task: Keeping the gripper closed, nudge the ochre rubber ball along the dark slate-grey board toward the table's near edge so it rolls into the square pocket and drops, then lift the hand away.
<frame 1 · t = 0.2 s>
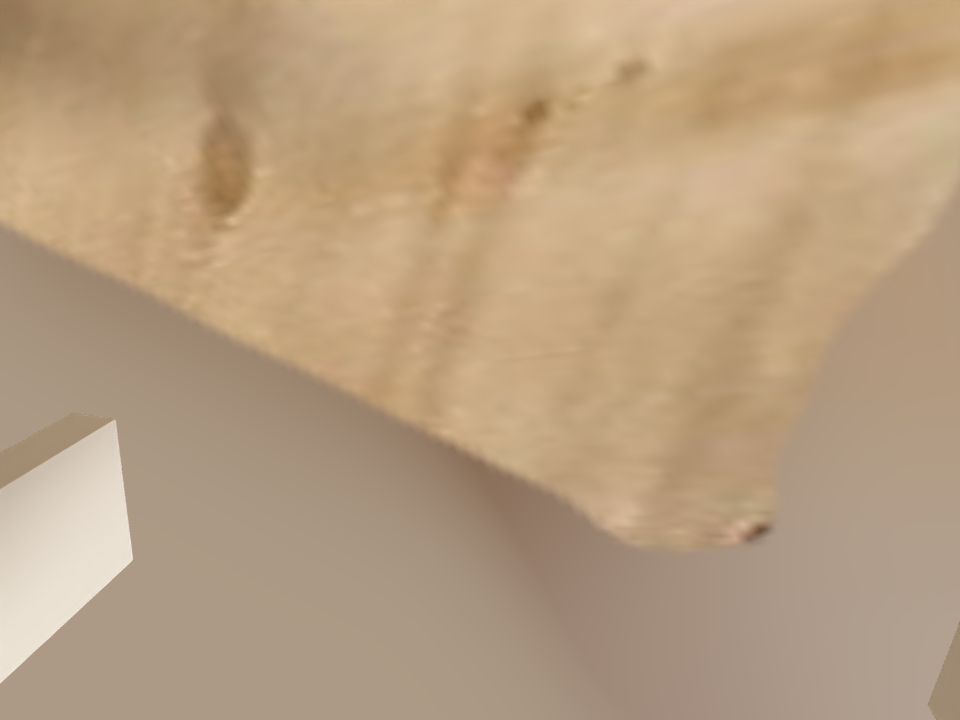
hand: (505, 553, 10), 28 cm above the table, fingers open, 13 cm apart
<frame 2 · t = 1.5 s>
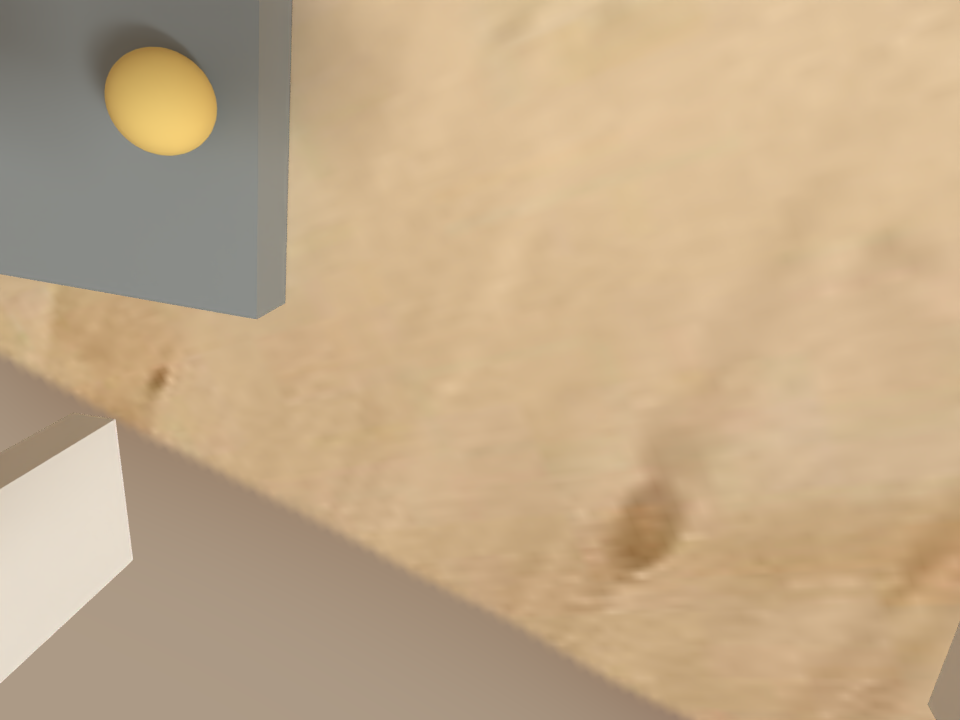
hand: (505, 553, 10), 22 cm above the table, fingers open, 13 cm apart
ball: (191, 103, 29), point 3 cm above the table, touching board
board: (70, 83, 32), on the table
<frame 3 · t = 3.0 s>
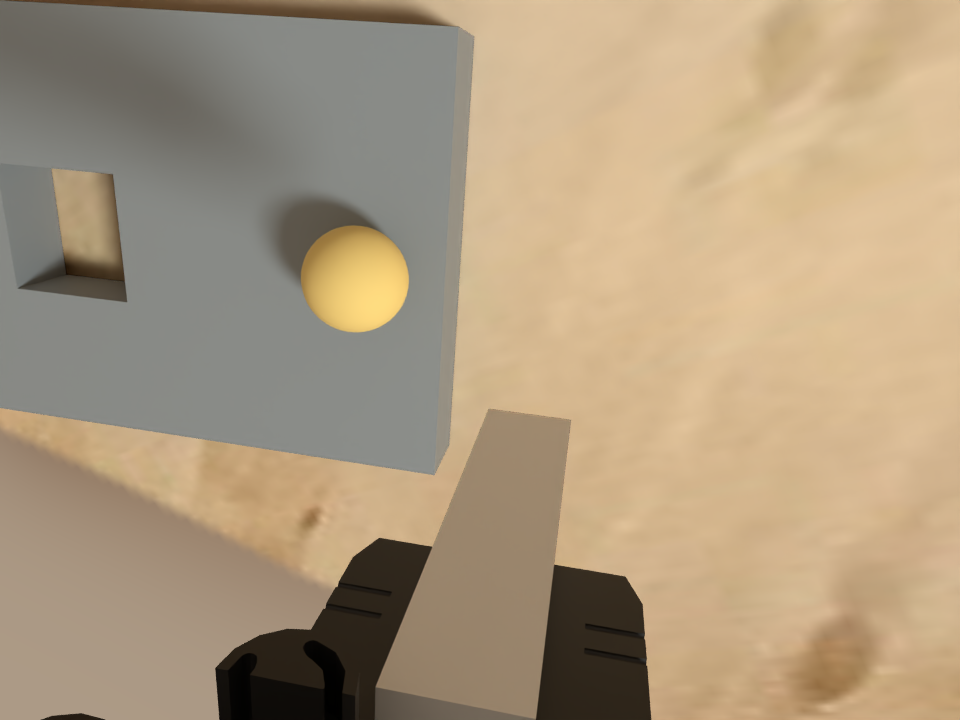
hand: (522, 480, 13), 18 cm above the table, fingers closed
ball: (372, 268, 27), point 3 cm above the table, touching board
board: (227, 236, 31), on the table
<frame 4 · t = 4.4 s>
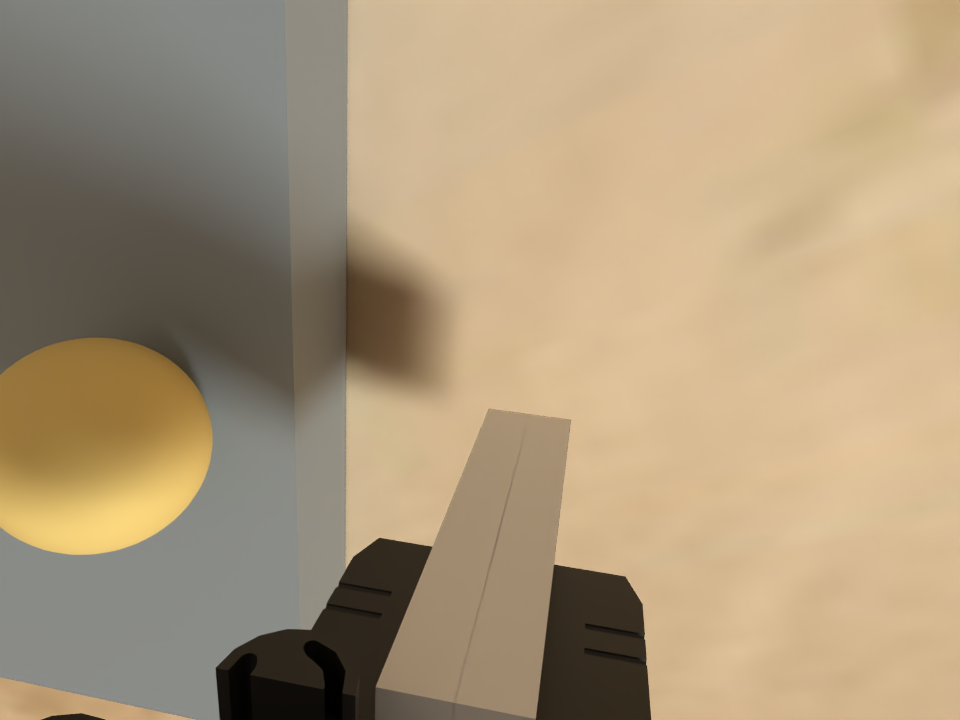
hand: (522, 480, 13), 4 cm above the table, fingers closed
ball: (162, 402, 15), point 3 cm above the table, touching board
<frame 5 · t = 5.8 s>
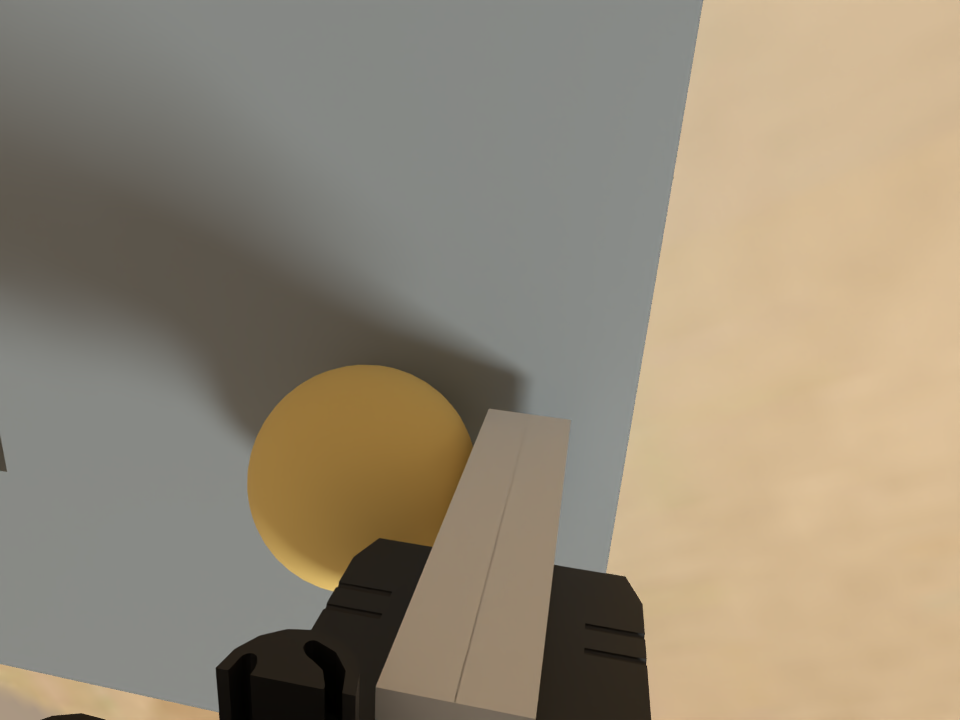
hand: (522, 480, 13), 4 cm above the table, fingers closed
ball: (457, 450, 13), point 4 cm above the table, tilted 44°, touching board
board: (194, 343, 18), on the table
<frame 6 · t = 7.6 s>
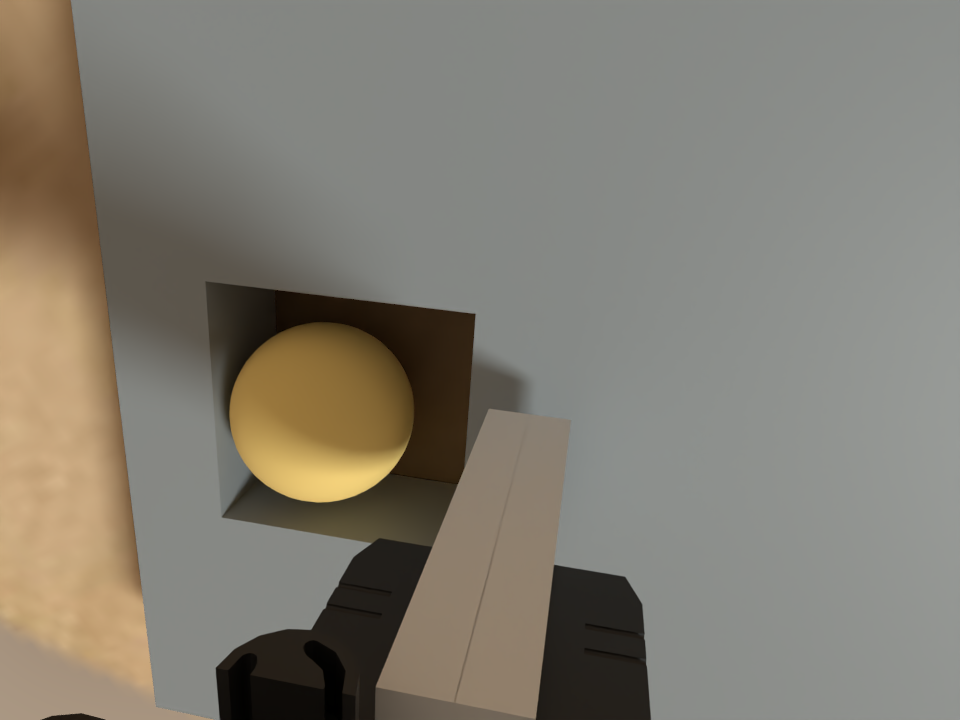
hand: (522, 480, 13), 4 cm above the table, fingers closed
ball: (409, 425, 15), point 2 cm above the table, tilted 92°
board: (625, 407, 16), on the table
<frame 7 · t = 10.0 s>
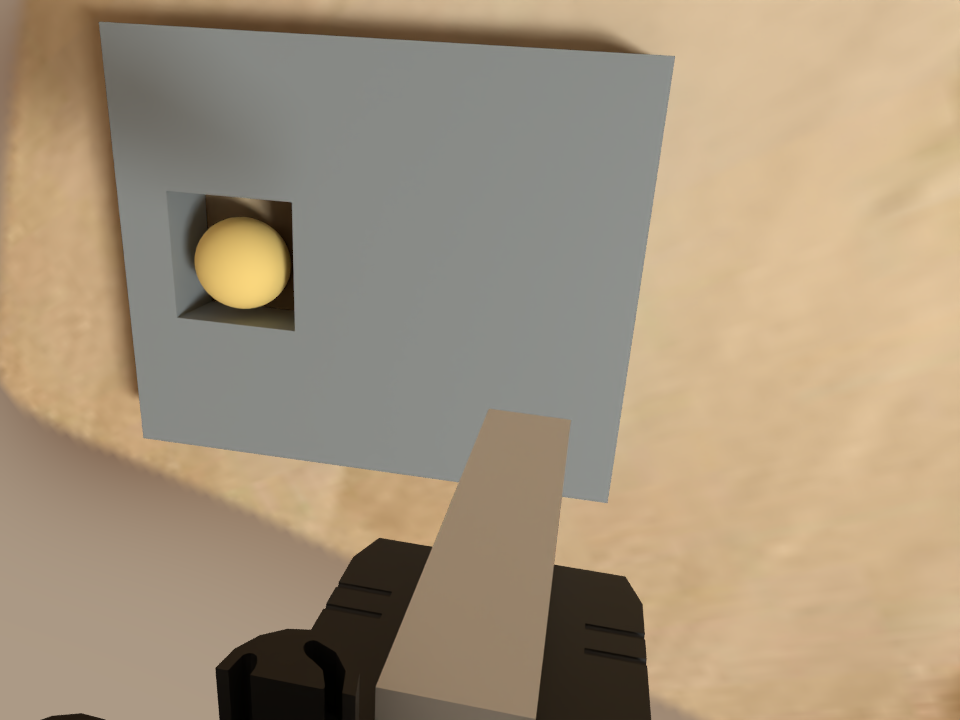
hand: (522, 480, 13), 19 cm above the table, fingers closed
ball: (290, 264, 30), point 1 cm above the table, tilted 73°
board: (388, 263, 31), on the table
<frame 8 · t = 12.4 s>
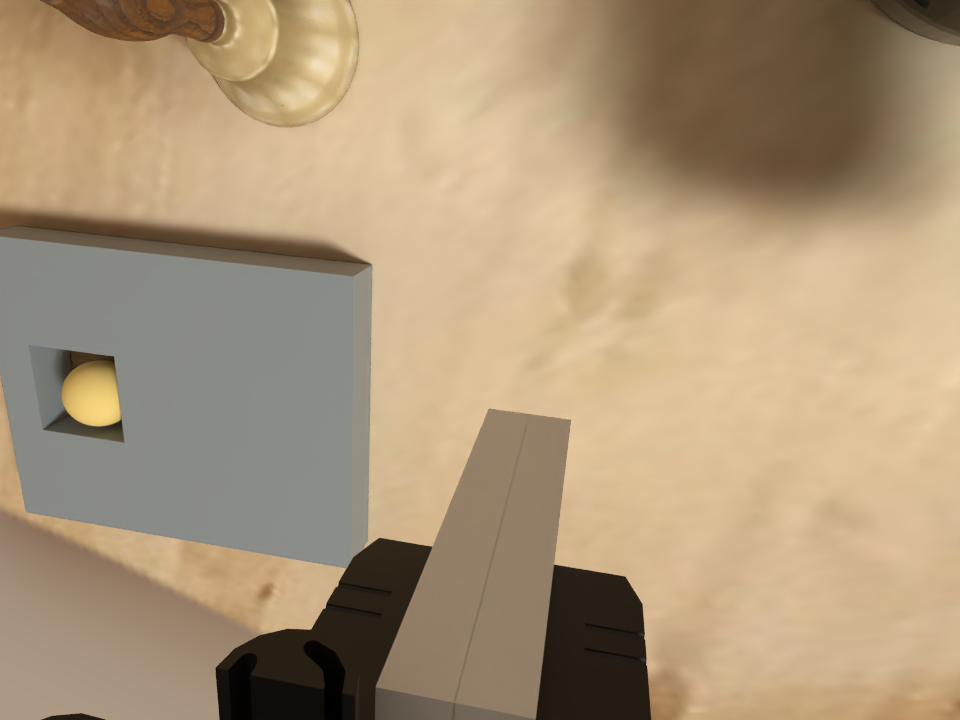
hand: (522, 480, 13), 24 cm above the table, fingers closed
ball: (137, 389, 42), point 1 cm above the table, tilted 53°
board: (199, 389, 42), on the table
hand bell: (283, 41, 35), on the table
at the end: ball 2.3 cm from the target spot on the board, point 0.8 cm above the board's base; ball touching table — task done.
